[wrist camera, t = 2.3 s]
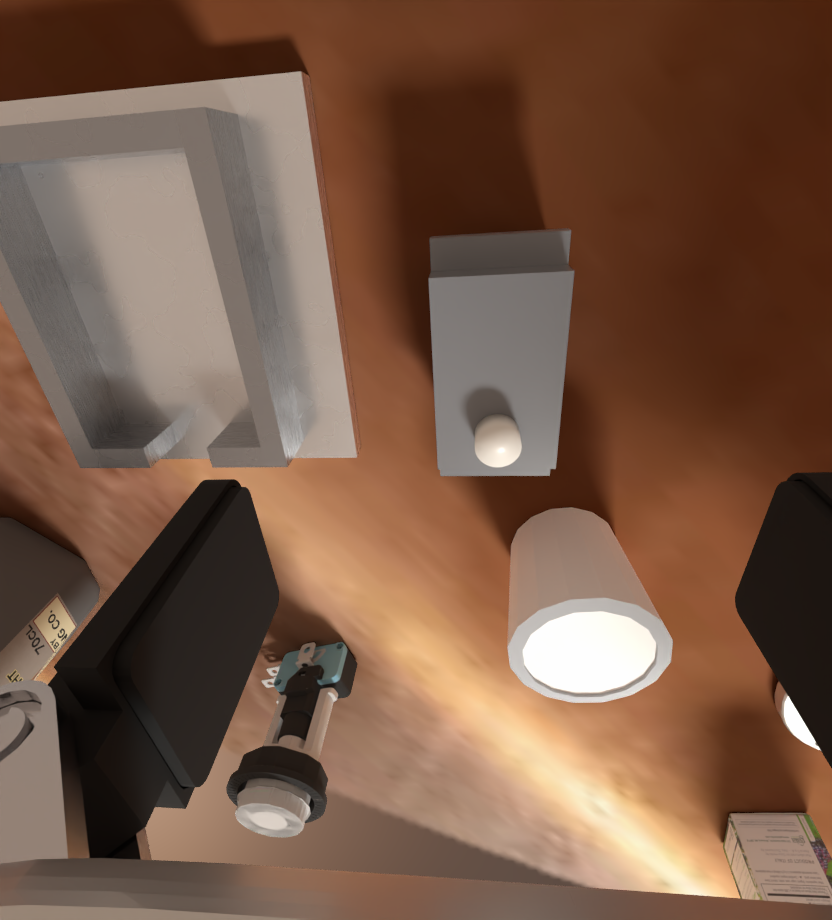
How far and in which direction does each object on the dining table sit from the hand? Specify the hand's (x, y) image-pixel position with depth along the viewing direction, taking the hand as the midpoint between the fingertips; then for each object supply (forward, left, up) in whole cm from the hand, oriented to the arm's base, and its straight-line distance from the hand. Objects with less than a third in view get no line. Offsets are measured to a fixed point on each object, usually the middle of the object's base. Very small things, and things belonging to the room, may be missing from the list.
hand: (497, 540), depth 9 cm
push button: (+12, +22, -14) cm, 29 cm away
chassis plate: (+14, -2, -14) cm, 20 cm away
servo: (0, 0, -14) cm, 14 cm away
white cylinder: (-4, +12, -14) cm, 19 cm away
